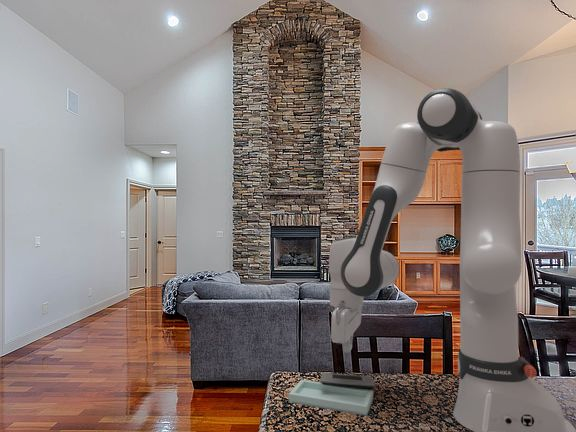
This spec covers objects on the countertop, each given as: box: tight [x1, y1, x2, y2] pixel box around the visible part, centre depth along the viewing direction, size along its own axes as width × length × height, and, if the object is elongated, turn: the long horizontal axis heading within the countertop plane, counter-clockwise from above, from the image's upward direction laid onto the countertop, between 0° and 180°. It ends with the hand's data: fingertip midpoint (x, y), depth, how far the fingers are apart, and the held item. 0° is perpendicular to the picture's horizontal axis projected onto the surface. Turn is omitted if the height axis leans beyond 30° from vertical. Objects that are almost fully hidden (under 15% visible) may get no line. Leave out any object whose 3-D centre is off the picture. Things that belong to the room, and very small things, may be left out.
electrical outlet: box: [320, 372, 377, 390], centre depth 100 cm, size 13×10×2 cm
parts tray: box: [288, 379, 374, 417], centre depth 93 cm, size 18×9×2 cm, turn 69°
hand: (347, 350), depth 104 cm, fingers closed
